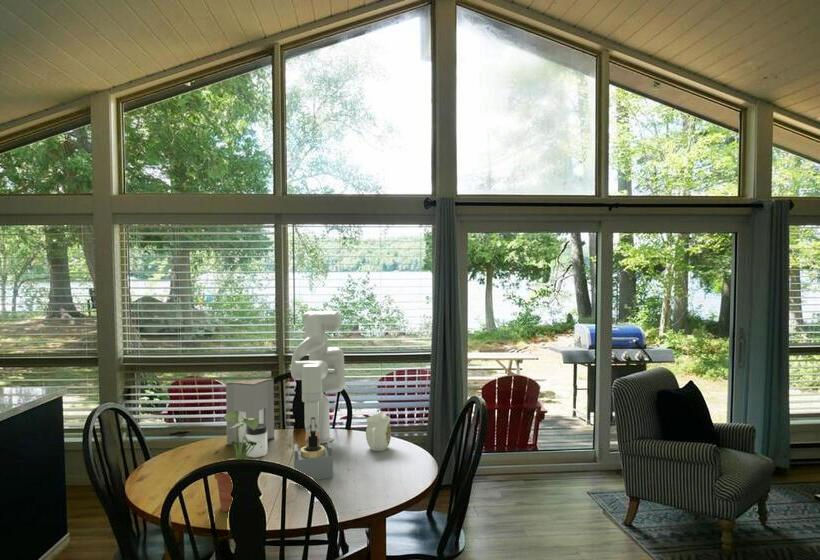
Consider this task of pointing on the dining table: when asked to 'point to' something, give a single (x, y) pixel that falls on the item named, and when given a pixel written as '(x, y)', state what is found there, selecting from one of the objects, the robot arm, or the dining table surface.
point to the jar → (256, 436)
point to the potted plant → (224, 478)
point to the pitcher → (378, 432)
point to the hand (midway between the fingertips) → (312, 443)
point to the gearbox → (314, 461)
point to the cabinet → (250, 406)
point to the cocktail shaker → (308, 441)
